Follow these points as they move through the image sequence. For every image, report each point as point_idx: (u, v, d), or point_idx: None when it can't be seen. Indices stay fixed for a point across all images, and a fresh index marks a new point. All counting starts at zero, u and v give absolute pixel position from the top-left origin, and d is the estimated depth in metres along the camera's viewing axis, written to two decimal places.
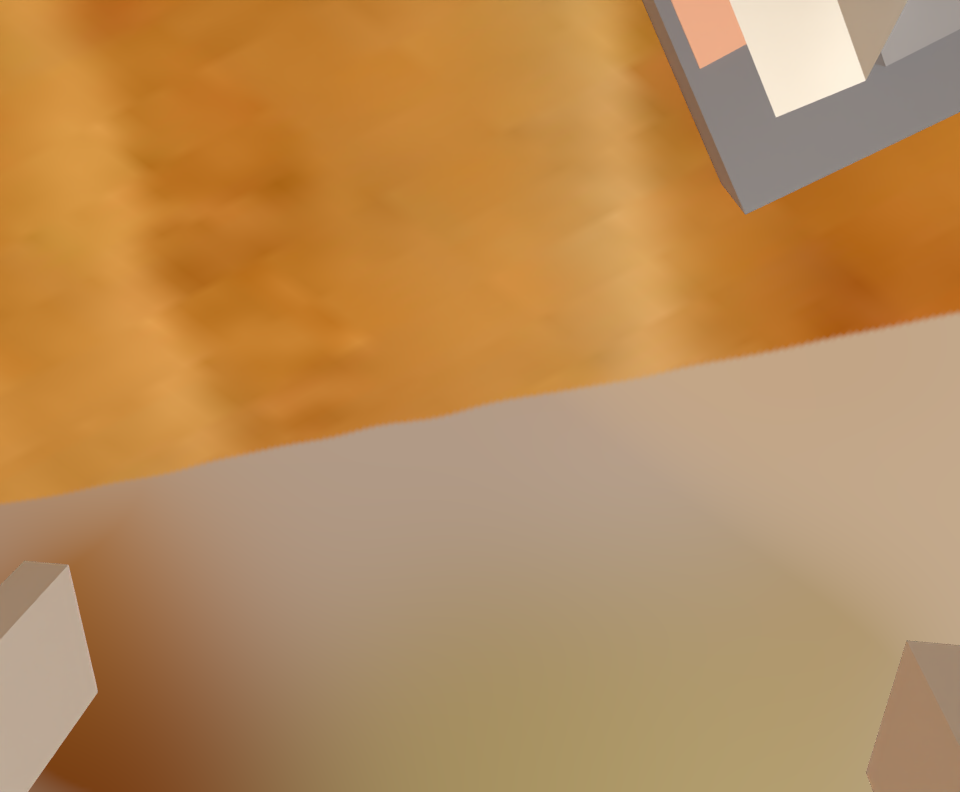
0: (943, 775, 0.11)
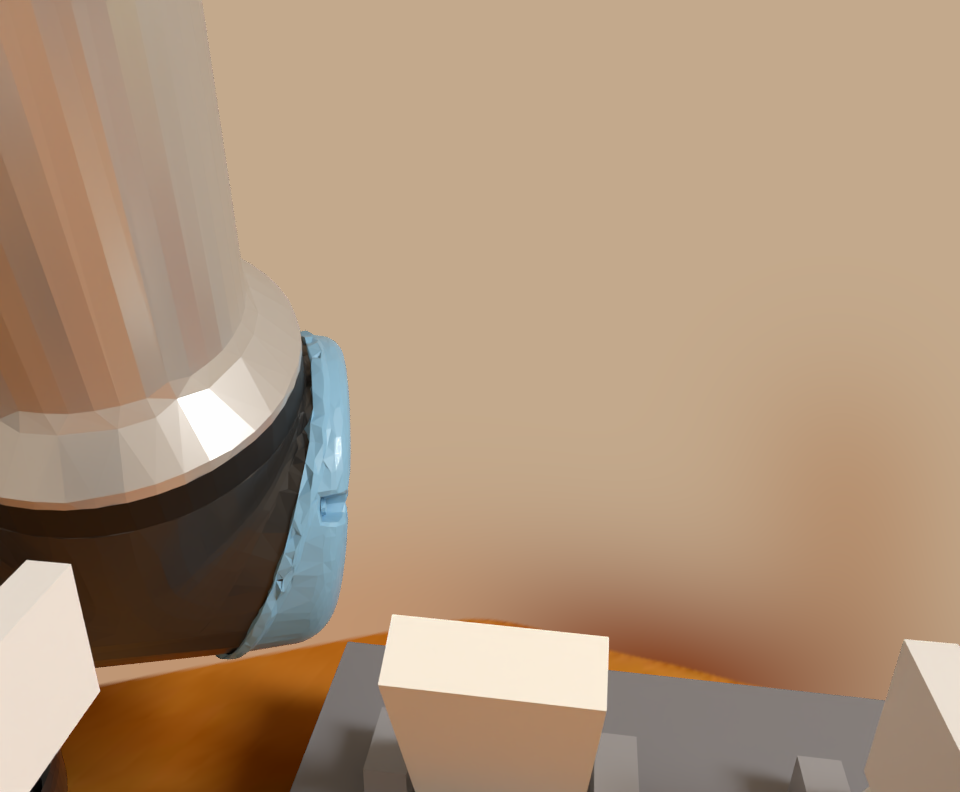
0: (940, 773, 0.11)
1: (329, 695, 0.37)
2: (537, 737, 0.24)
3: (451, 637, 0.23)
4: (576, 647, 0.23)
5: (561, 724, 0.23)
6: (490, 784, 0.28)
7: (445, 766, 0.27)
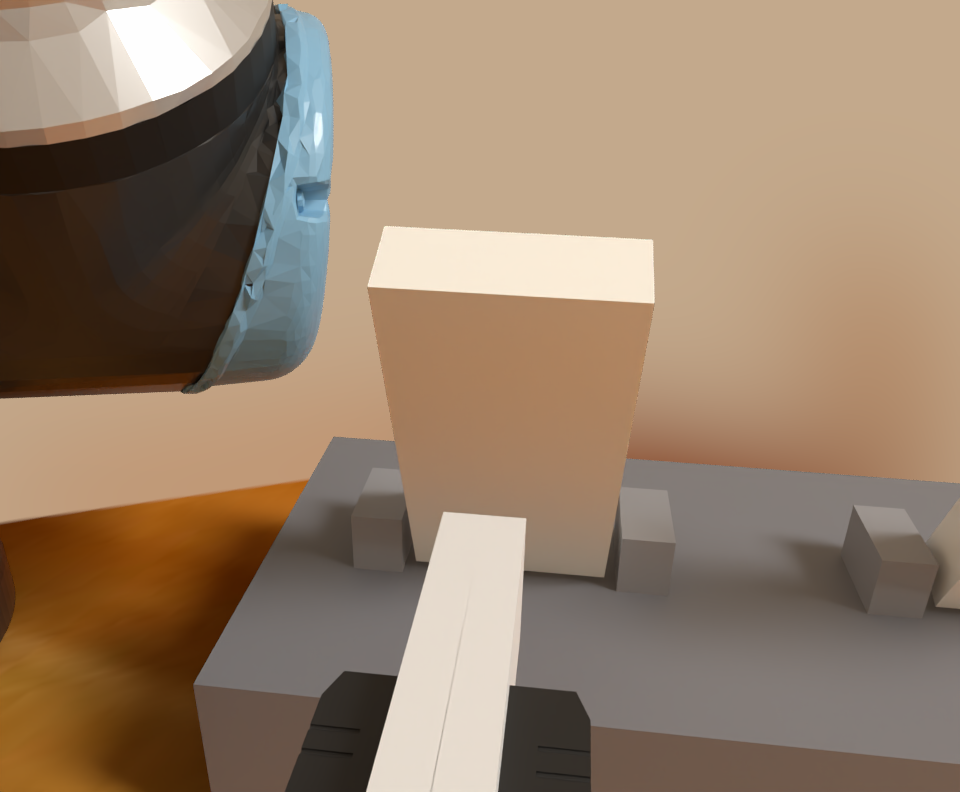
0: None
1: (312, 478, 0.32)
2: (564, 384, 0.20)
3: (458, 244, 0.19)
4: (613, 249, 0.18)
5: (595, 348, 0.18)
6: (501, 507, 0.24)
7: (449, 473, 0.23)
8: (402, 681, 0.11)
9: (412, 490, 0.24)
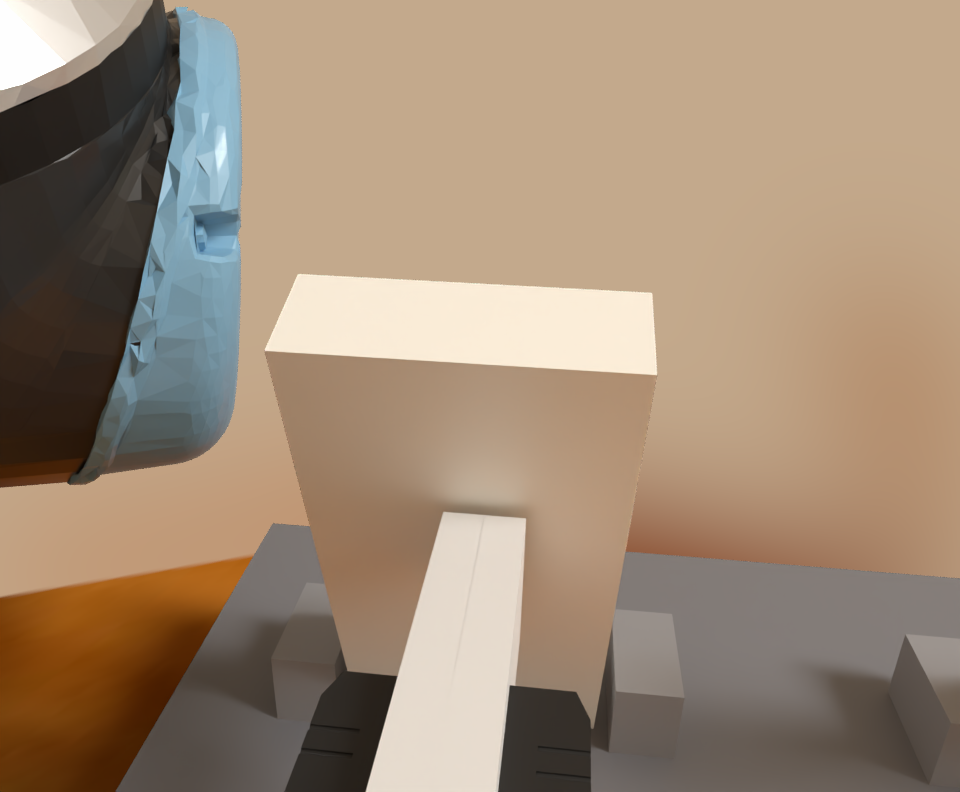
0: None
1: (240, 583, 0.26)
2: (535, 484, 0.15)
3: (393, 297, 0.14)
4: (599, 304, 0.14)
5: (576, 436, 0.14)
6: None
7: (390, 599, 0.18)
8: (402, 681, 0.11)
9: (345, 619, 0.18)
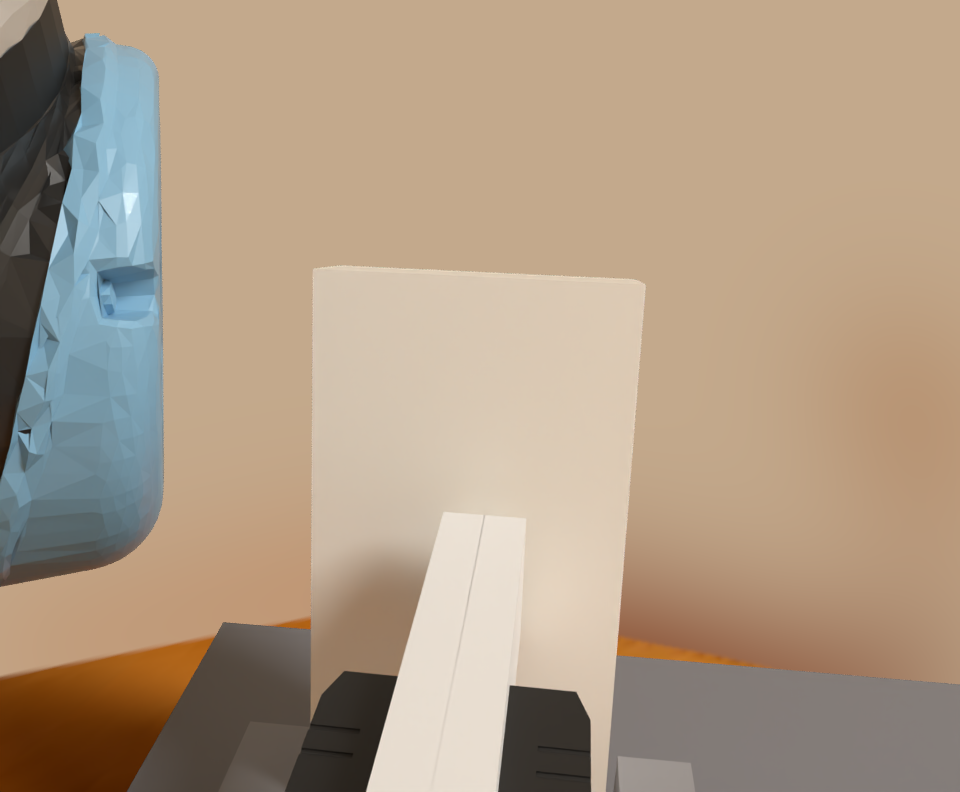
0: None
1: (180, 705, 0.22)
2: (539, 430, 0.15)
3: (420, 271, 0.17)
4: (593, 277, 0.16)
5: (577, 362, 0.15)
6: None
7: (378, 623, 0.16)
8: (402, 681, 0.11)
9: (323, 665, 0.17)
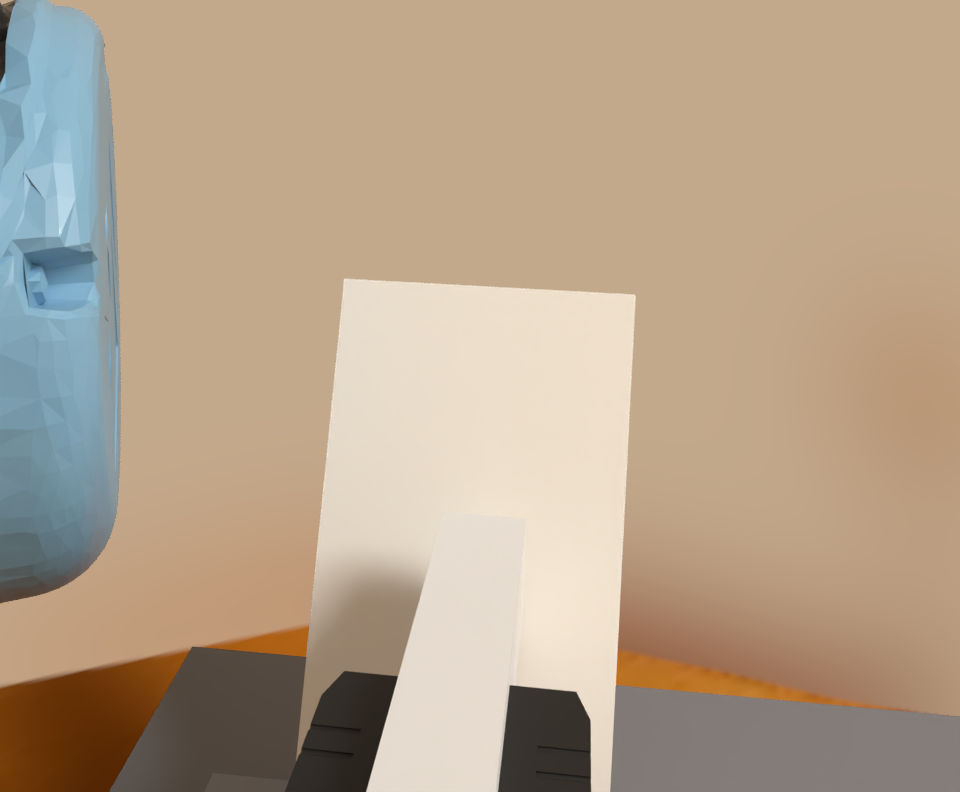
0: None
1: (140, 744, 0.20)
2: (541, 423, 0.17)
3: None
4: None
5: (577, 361, 0.17)
6: None
7: (378, 620, 0.16)
8: (402, 681, 0.11)
9: (318, 668, 0.16)
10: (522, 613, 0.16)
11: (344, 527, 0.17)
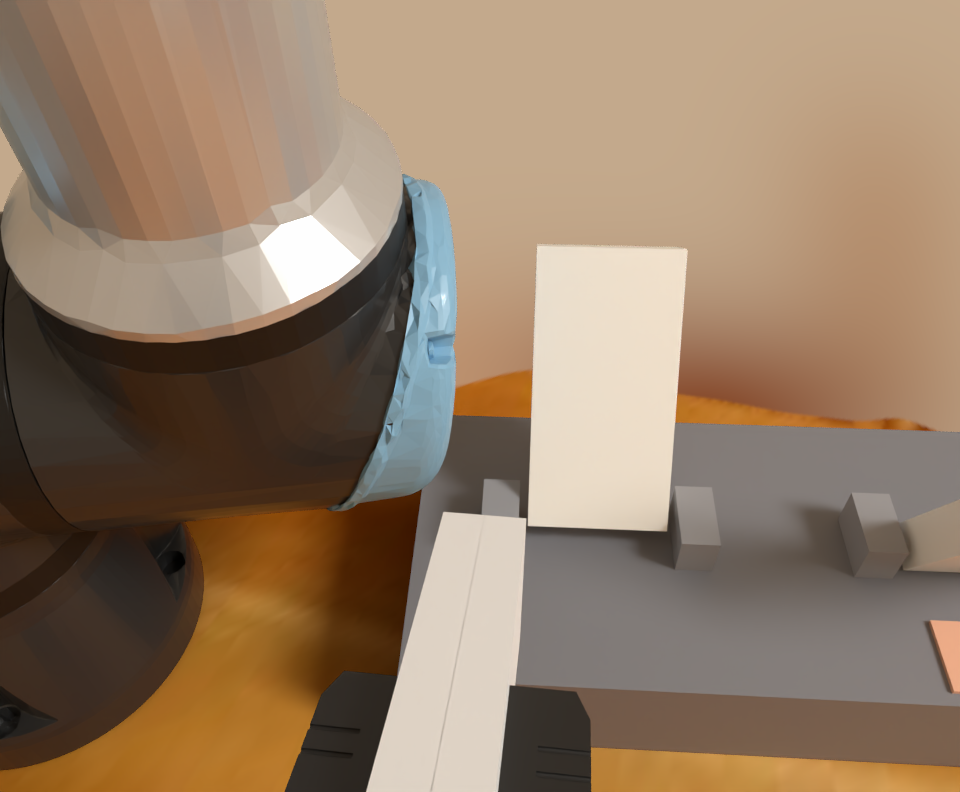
0: None
1: None
2: (640, 316, 0.34)
3: (578, 245, 0.35)
4: None
5: (657, 285, 0.34)
6: (596, 447, 0.36)
7: (564, 411, 0.35)
8: (402, 681, 0.11)
9: (537, 433, 0.36)
10: (631, 405, 0.35)
11: (545, 370, 0.35)
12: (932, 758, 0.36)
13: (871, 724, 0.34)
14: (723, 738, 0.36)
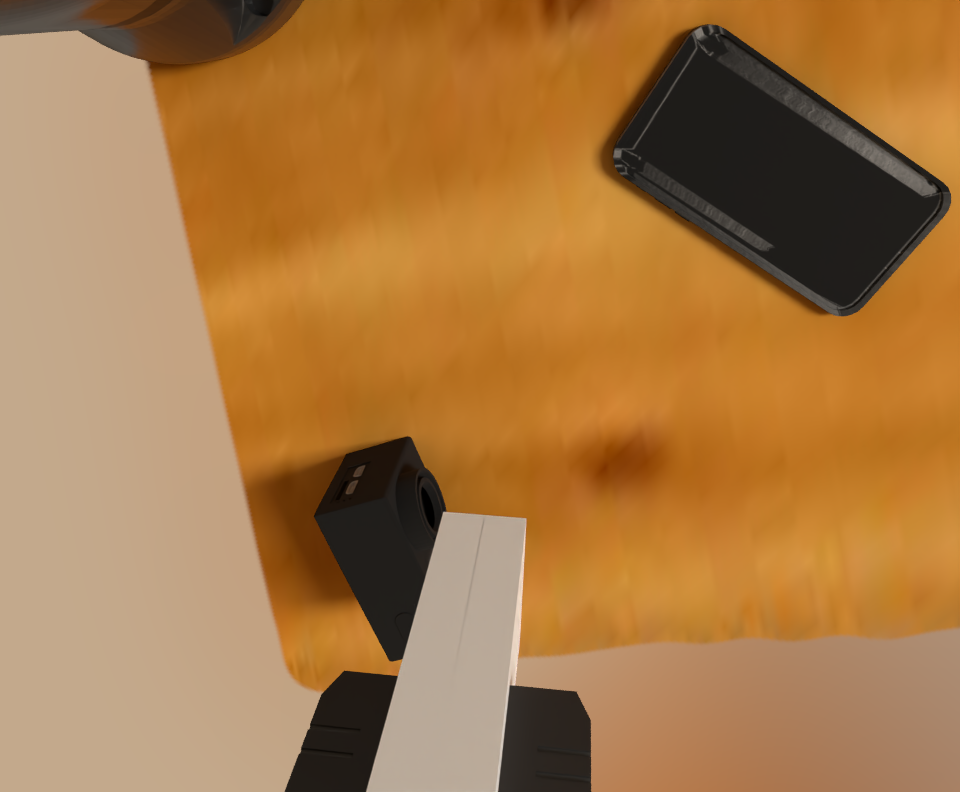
0: None
1: None
2: None
3: None
4: None
5: None
6: None
7: None
8: (402, 681, 0.11)
9: None
10: None
11: None
12: None
13: None
14: None
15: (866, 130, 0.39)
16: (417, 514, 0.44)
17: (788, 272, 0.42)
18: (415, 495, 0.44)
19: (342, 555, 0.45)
